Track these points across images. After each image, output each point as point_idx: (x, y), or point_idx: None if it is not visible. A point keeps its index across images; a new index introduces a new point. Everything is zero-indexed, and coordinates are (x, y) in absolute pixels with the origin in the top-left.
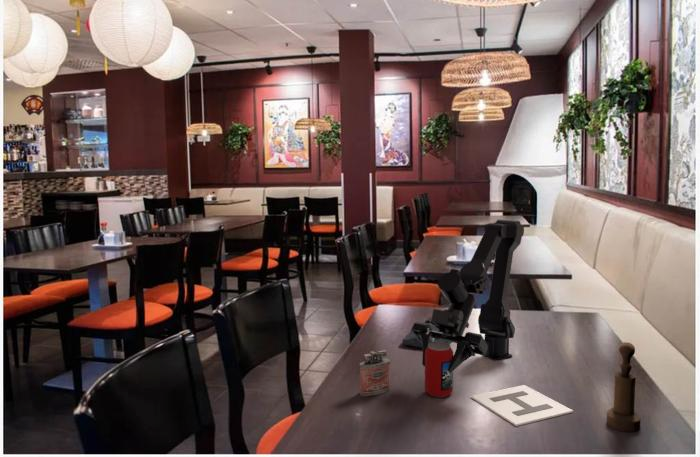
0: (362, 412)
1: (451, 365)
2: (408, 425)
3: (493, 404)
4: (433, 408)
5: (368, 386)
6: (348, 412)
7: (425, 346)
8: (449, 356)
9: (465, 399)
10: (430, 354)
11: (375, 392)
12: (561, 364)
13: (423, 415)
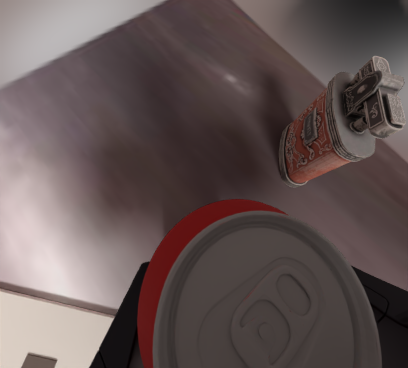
0: (230, 85)
1: (134, 285)
2: (140, 99)
3: (23, 331)
4: (153, 183)
5: (295, 124)
6: (243, 73)
7: (370, 288)
8: (140, 303)
9: (126, 291)
10: (235, 200)
11: (282, 144)
12: None
13: (147, 144)
